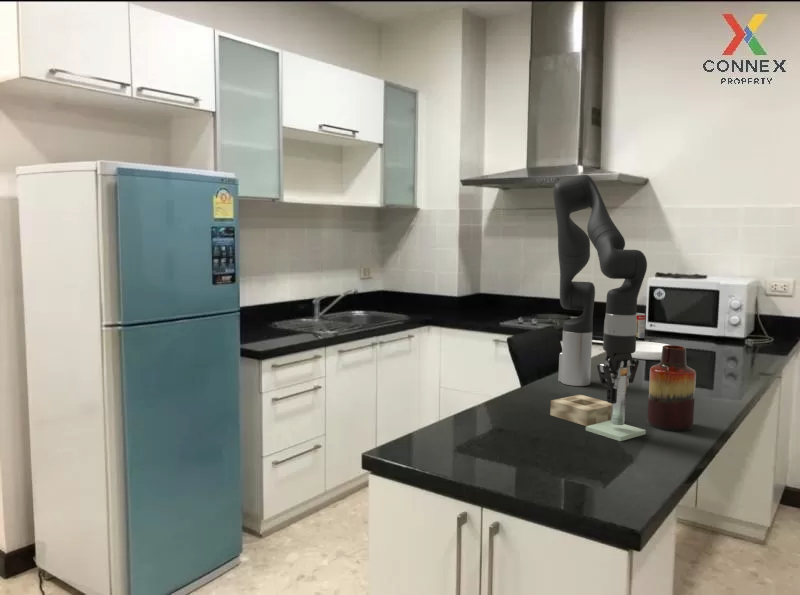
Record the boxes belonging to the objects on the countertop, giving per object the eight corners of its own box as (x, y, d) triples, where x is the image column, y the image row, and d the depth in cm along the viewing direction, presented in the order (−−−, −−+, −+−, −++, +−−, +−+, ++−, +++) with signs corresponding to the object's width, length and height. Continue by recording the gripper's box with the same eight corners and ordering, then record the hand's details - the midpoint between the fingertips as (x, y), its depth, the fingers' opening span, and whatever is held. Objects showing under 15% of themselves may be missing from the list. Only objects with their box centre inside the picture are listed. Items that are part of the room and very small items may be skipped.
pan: (675, 364, 244) (676, 353, 244) (573, 353, 264) (573, 343, 263) (683, 354, 266) (684, 344, 265) (588, 345, 285) (588, 335, 285)
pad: (585, 430, 159) (585, 426, 159) (610, 423, 165) (610, 420, 165) (620, 441, 151) (620, 437, 151) (645, 434, 157) (645, 430, 157)
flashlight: (615, 425, 155) (618, 368, 154) (607, 421, 158) (610, 365, 157) (627, 424, 156) (630, 368, 155) (619, 420, 159) (622, 365, 158)
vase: (652, 430, 160) (657, 349, 158) (642, 418, 171) (646, 342, 169) (698, 432, 159) (703, 351, 157) (685, 420, 169) (690, 344, 167)
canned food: (632, 337, 309) (633, 312, 308) (647, 339, 303) (648, 314, 302) (623, 338, 304) (624, 313, 303) (638, 340, 298) (639, 315, 297)
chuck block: (550, 415, 172) (550, 400, 172) (579, 408, 179) (579, 394, 179) (586, 426, 162) (587, 410, 162) (616, 419, 169) (616, 404, 169)
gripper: (615, 336, 148) (611, 409, 150) (651, 332, 157) (647, 401, 158) (588, 332, 155) (585, 402, 156) (624, 328, 163) (620, 394, 164)
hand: (616, 401), depth 157 cm, fingers closed on flashlight, 3 cm apart
